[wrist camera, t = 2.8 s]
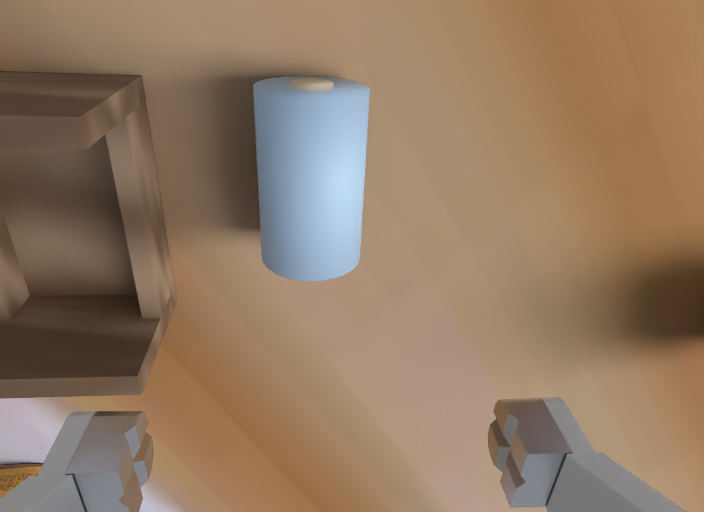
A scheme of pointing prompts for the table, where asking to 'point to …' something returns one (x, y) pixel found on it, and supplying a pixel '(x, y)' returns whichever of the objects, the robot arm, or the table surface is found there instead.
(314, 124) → the blue roll
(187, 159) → the table surface
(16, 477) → the pancake mix bag
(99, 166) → the open wooden box
